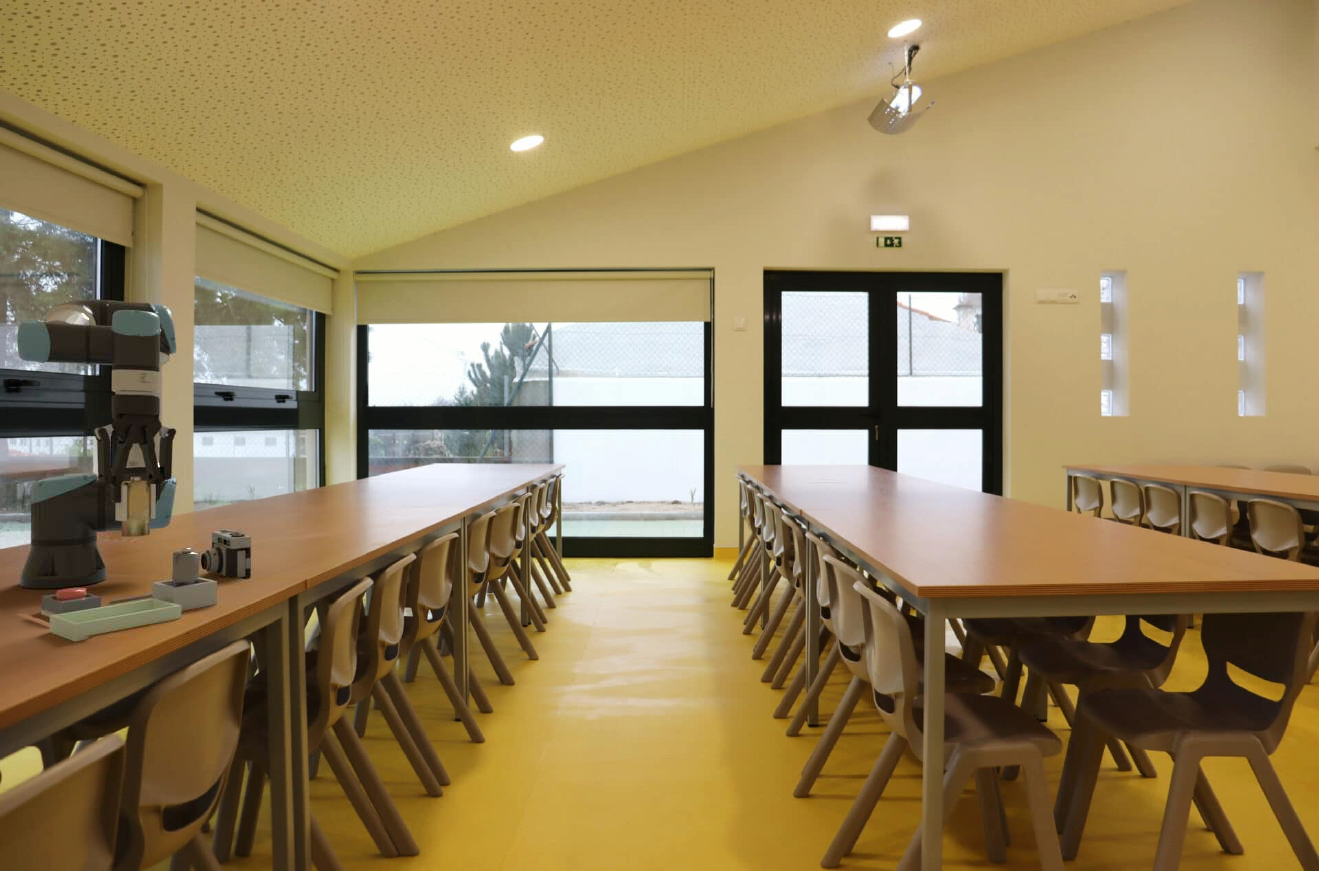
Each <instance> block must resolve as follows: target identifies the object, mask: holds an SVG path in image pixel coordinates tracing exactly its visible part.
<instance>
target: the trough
mask: <svg viewBox="0 0 1319 871" xmlns="http://www.w3.org/2000/svg"><path fill="white" fill-rule="evenodd" d="M178 619H182V611H181V605H178V604H174V603H170V602H167V601H163V600H160V599H156V598H153V599H152V598H146V599H140V600H134V601H129V602H125V603H124V602H122V603H119V604H118V603H117V604H113V605H111V604H110V605H107V606H101V607H99V608H93V609H87V610H81V611H75V612H69V613H63V614H57V615H51V616H50V617H49V633H51V634H54V635H56V636H59V637H61V638H65V639H67V640H69V641H73V642H79V641H85V640H89V639H93V637H92V636H94V635H98V634H104V633H108V632H109V633H110V632H115V631H120V630H124V629H130V628H135V627H141V626H145V625H151V624H156V623H162V622H167V621H173V620H178Z"/></svg>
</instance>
